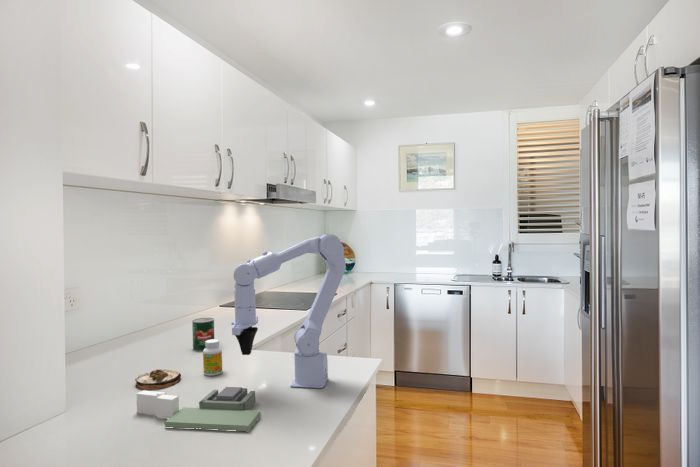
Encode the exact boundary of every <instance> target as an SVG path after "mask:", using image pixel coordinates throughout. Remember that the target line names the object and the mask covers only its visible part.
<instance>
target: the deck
mask: <svg viewBox="0 0 700 467" xmlns="http://www.w3.org/2000/svg"><path fill="white" fill-rule="evenodd" d="M218 394H219V389H213V390H212V391H210V392H209V393H208V394H207V395H206V396H205V397H203V398H202V399H200V401H199V402H198V406H199V407H186V406H185V407H182V408H181V409H180V408H179V411H178V412H177V413H175V414H174V415H173V416H172V417H170V418H169V419H166V420H165V421H164V428H165V427H173V428H194V429H196V428H198V429H199V428H201V429H218V430H236V431H246V432H245V433H248V432H247V431H249V430H250V429H252V428H253V427H254V426H255V424H256V423H257V422H258V421H257V419H258V418H259V417H260V416H261V410H251V409H252V408H253V406H254V405H255V404H256V390H250V391H249V392H247V395H246V396H245V397H244V398H243V400H242V401H241V402H236V401H212V399H214V398H215V397H216V395H218ZM254 403H255V404H254ZM253 404H254V405H253ZM260 418H261V417H260ZM260 418H259V419H260ZM259 419H258V420H259ZM256 421H257V422H256ZM255 422H256V423H255ZM254 423H255V424H254ZM253 425H254V426H253ZM252 426H253V427H252ZM251 427H252V428H251ZM250 431H251V430H250ZM250 431H249V432H250Z"/></svg>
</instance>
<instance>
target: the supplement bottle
mask: <svg viewBox="0 0 700 467" xmlns="http://www.w3.org/2000/svg"><path fill="white" fill-rule="evenodd" d="M205 346H206V348H205V349H204V350H203V353H202V360H203V362H202V363H203V364H202V366H203V375H204V376H210V377H211V376H212V377H213V376H217V375H220V374H222V373H223V350H222V347H220V340H219V339H217V338H216V339H215V338H214V339H211V340H207V341H205Z"/></svg>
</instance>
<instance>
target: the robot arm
mask: <svg viewBox="0 0 700 467" xmlns="http://www.w3.org/2000/svg"><path fill="white" fill-rule="evenodd" d="M305 254H316V255H318V254H319V255H320V256H321V257H322V258H323V260H324V263H325V264H326V267H327V269H326V271H325V274H324V277H323V280H322V282H321V284H320V286H319V288H318V291H317V292H316V295H315V297H314V301H313V302H312V304H311V307H310V309H309V312H308V314H307V317H306V318H305V319H304V320H303V322H302V324H301V326H300V327H299V328H297V329H296V331H295V333H294V336H293V338H294V342H295V343H296V349H295V350H294V351H293V352H294V354H293V356H294V380H293V382H292V383H291V384H290V387H291V388H311V389H312V388H314V389H323V388H325V386H326V383H327V382H328V380H329V377H328V376H329V372H328V369H329V368H328V367H329V366H328V355H327V354H328V353H325V352H320V349H319V348H320V336H321V335H322V331H323V330H322V329H323V323H324V322H325V320H326V318H327V314H328V312H329V310H330V307H331V305H332V303H333V300H334V298H335V296H336V293H337V291H338V289H339V286H340V284H341V282H342V279H343V276H344V274H345V272H346V269H347V266H346V265H347V264H346V259H345V247H344V245H343V244H342V241H341V239H340V238H339V237H338V236H337V235H335V234H329V233H322V234H320V235H318V236H314V237H310V238H307V239H305V240H302V241H301V242H298V243H296V244H294V245H292V246H290V247H288V248H286V249H284V250H282V251H280V252H278V253H276V252H274V251H269V252H267V251H263V252H262V255H259V256H257V257H255V258H253V259H250V258H249V259H247V260H246V263H241V264H238V265H237V266H236V267H235V269H234V271H233V280H234V281H235V282H234V292H233V293H234V320H233V321H231V326H232V327H231V335H232V336H235V337H236V340H237V342H238V344H239V348H240V352H241V354H242V355H243V356H249V355H251V353H252V349H253V345H254V340H255V338H256V337H255V336H256V334H257V332H258V327H257V324H259V316H257V312H256V310H257V309H256V308H257V307H256V304H257V303H256V289H255V280H256V279H258V280H259V279H262V278H263V277H266V276H268V275H271V274H272V273H274V272H277V271H279V270H280V268H281V266H282V264H284V263H286V262H289V261H291V260H294V259H296V258H298V257H301V256H303V255H305Z"/></svg>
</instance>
